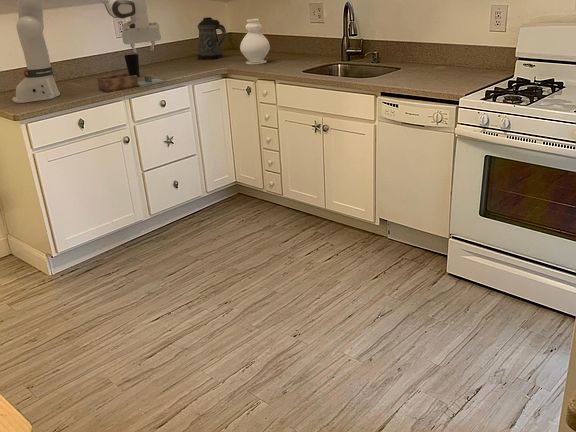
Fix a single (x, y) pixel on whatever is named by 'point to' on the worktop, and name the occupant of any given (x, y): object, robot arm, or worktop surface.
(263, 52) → the decorative vase
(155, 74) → the worktop surface
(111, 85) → the walnut box
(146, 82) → the cover plate
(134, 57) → the cup
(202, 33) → the beer stein
